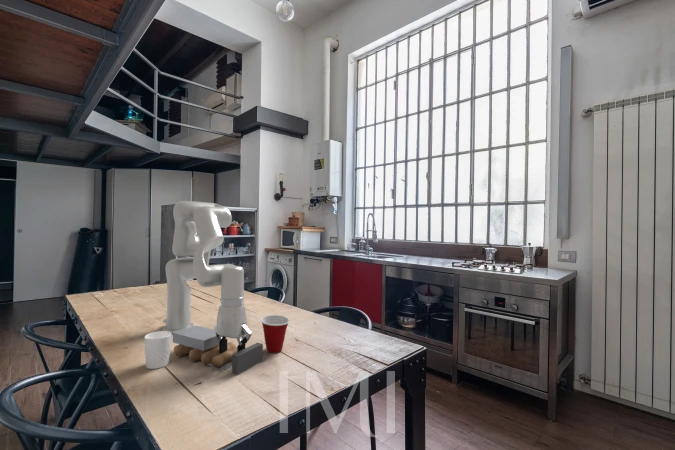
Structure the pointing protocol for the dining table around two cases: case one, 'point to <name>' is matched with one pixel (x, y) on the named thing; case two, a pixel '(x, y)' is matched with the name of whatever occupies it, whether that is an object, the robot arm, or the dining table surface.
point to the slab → (196, 338)
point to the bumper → (247, 358)
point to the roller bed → (200, 352)
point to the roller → (223, 358)
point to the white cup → (157, 349)
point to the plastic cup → (274, 332)
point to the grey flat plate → (222, 366)
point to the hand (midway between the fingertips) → (232, 353)
